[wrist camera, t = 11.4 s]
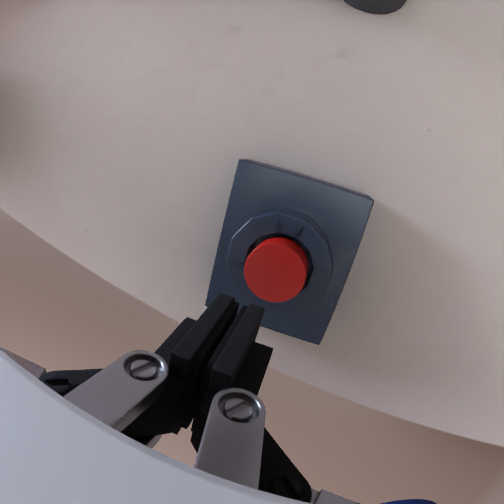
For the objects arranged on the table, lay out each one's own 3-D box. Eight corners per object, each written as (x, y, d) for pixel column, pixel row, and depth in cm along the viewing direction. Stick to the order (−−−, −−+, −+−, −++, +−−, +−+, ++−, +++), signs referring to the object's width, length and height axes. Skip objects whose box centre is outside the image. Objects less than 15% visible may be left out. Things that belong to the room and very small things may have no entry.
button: (298, 298, 20) (294, 310, 18) (245, 280, 21) (237, 291, 19) (315, 246, 19) (314, 255, 17) (259, 228, 19) (252, 235, 18)
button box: (320, 331, 24) (317, 359, 20) (214, 294, 26) (195, 316, 22) (370, 196, 21) (378, 203, 17) (247, 159, 22) (230, 158, 18)
